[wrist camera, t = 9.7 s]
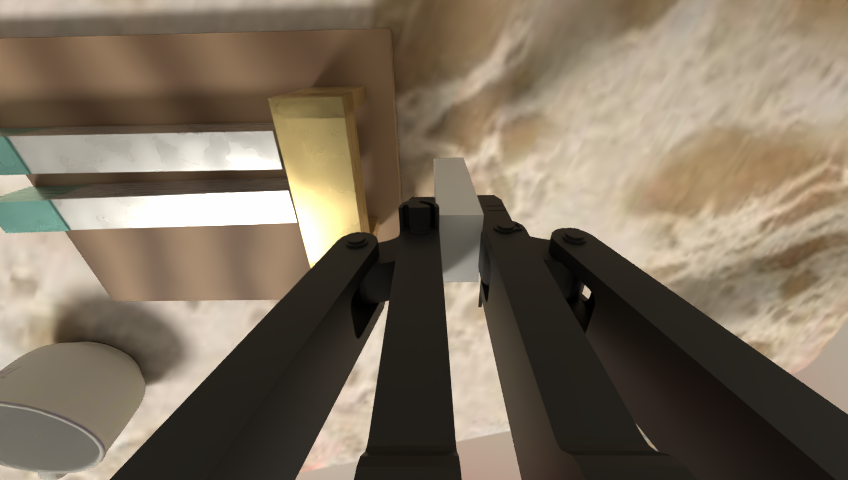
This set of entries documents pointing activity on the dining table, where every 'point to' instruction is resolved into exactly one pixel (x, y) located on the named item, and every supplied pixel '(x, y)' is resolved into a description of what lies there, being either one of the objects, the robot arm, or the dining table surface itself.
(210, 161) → the tongs fixed
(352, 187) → the collar
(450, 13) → the dining table surface
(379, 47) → the board
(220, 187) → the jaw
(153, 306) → the dining table surface
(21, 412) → the teacup
